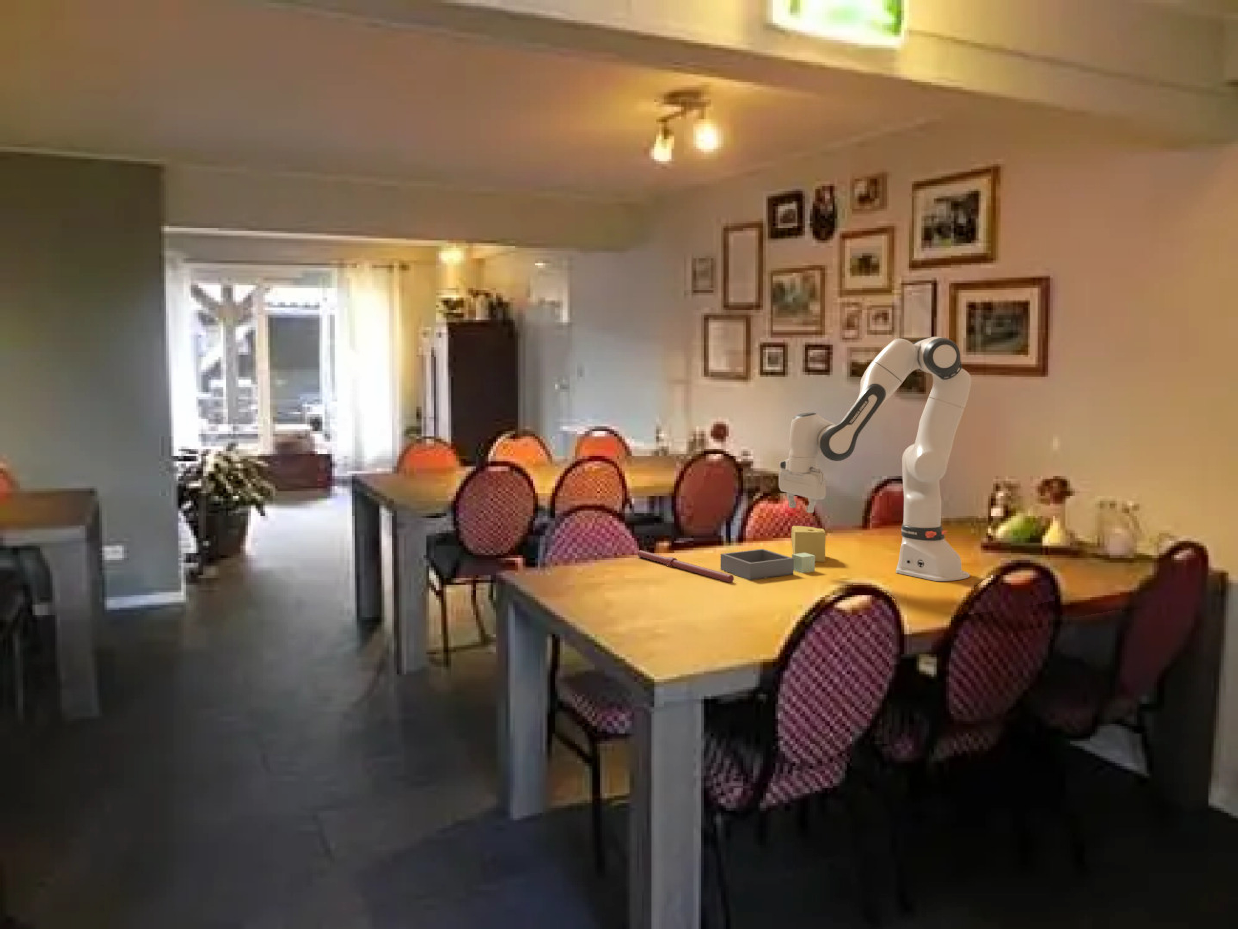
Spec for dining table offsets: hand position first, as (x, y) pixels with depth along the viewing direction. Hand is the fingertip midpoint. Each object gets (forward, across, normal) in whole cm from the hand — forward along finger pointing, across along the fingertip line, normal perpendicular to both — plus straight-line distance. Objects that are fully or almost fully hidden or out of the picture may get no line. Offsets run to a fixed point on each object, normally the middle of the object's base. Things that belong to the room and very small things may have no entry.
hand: (801, 509), depth 310 cm
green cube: (+19, -1, -1) cm, 19 cm away
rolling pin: (+20, +16, +32) cm, 41 cm away
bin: (+19, +3, +13) cm, 24 cm away
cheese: (+19, +12, -12) cm, 26 cm away
